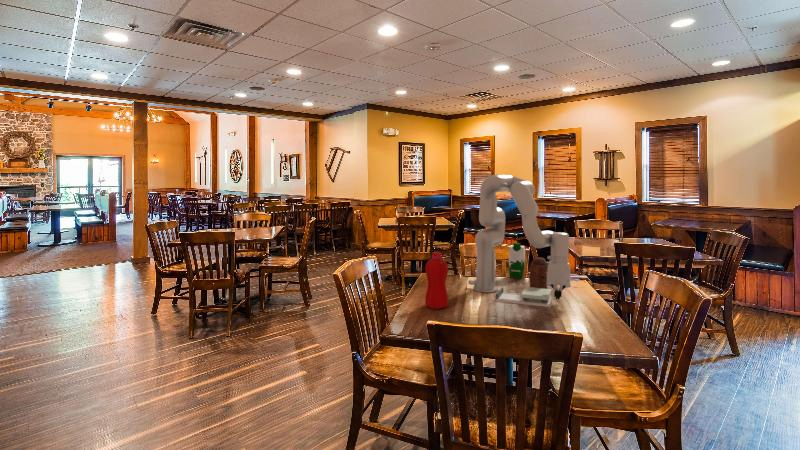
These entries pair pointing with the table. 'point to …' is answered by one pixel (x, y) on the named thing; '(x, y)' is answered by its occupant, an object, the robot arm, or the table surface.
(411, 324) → the table surface
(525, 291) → the pale green flat box
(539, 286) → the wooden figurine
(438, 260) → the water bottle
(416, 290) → the table surface
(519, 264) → the milk carton
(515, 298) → the rail track
